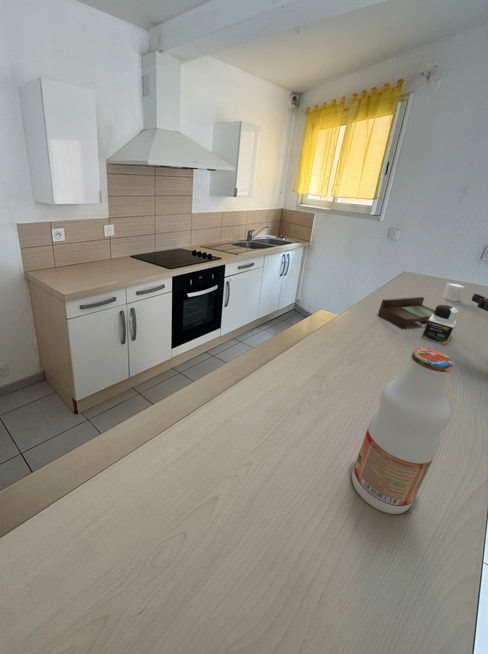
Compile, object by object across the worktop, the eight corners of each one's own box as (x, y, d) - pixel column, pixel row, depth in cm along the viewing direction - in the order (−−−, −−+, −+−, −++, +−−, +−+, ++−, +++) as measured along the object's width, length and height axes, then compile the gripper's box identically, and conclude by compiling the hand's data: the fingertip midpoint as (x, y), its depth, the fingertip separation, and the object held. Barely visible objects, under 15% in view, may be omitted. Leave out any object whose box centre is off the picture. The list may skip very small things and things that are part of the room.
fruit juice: (369, 517, 53) (427, 375, 42) (341, 467, 61) (382, 339, 50) (423, 515, 53) (494, 375, 42) (388, 467, 62) (439, 340, 51)
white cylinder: (444, 295, 156) (449, 281, 154) (461, 299, 152) (467, 285, 149) (439, 298, 152) (445, 284, 149) (457, 302, 147) (463, 288, 145)
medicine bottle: (421, 337, 113) (433, 306, 109) (425, 331, 118) (437, 301, 113) (445, 345, 109) (459, 313, 104) (449, 338, 114) (462, 307, 109)
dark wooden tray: (416, 312, 135) (421, 296, 132) (443, 325, 124) (450, 308, 121) (377, 315, 130) (382, 299, 127) (402, 329, 119) (408, 312, 116)
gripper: (579, 308, 80) (514, 286, 95) (525, 306, 79) (469, 284, 94) (563, 335, 83) (503, 309, 98) (512, 334, 82) (459, 308, 97)
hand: (487, 297), depth 96 cm, fingers open, 8 cm apart
